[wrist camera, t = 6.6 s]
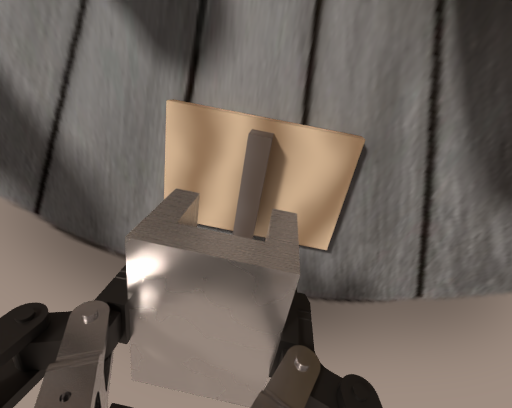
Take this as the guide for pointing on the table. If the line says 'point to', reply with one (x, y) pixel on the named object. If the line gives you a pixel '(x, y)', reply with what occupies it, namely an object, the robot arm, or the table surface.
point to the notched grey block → (207, 301)
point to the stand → (258, 170)
